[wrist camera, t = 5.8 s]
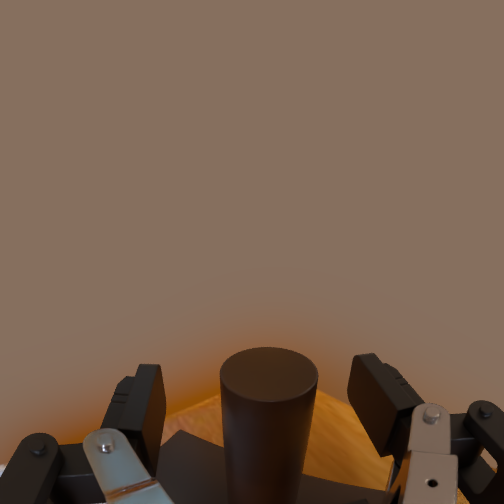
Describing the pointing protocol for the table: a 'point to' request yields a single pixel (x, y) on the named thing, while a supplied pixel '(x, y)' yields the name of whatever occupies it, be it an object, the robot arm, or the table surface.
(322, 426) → the table surface
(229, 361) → the stamp
